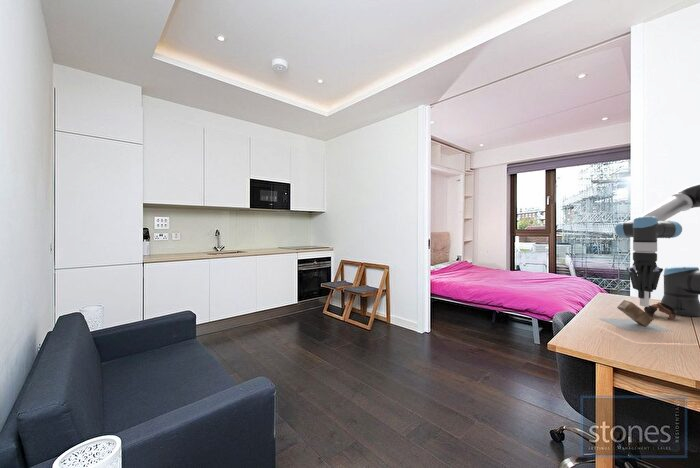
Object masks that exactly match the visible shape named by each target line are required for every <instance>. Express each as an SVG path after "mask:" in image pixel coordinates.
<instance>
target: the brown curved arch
mask: <svg viewBox="0 0 700 468" xmlns="http://www.w3.org/2000/svg"><path fill="white" fill-rule="evenodd" d="M666 308H668V309H666ZM658 310H659V311H660V312H662V313H665V314H666V315H669V316H668V318H667V320H668V321H669V320H671V321H672V320H673V319H675V320H676V317H677V314H676V313H677V311H676V310H675V309H673V308H672V307H670V306H669V305H666V304H664V303H661V301H660V302H657V303H655V304H651V305H650V304H649V307H644V308H643V311H644V312H646V313H647V314H648V315H649V316H651V317H653V316H654V315H655V313H656V312H657V311H658ZM671 313H672V314H671Z"/></svg>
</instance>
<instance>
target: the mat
mask: <svg viewBox="0 0 700 468" xmlns="http://www.w3.org/2000/svg"><path fill="white" fill-rule="evenodd" d="M597 319H599V320H601V321H603V322H605V323H608V324H610V325H612V326H615V327H617V328H620V329H622V330H624V331H645V332H646V331H647V332H649V331H650V332H651V331H654V332H673V330H671V329H669V328H667V327H663V326H661V325H657V324H655V323H653V322H651V323H650V324H649V325H648V326H647V327H646V326H643V325H640V324H638V323H636V322H635V321H634V320H632V319H631V318H602V317H601V318H597Z"/></svg>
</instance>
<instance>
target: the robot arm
mask: <svg viewBox="0 0 700 468" xmlns="http://www.w3.org/2000/svg"><path fill="white" fill-rule="evenodd" d="M693 208H700V183H699V182H698V183H695V184H693V185H690V186H687V187H685V188H682V189H680V190H678V191H676V192H674V193H672V194H671V195H669V196H668V197H667V199H666V200H665V201H663V202H661V203H659V204H657V205H655V206H654V207H652V208H650V209H649V210H647V211H645V212H644V213H642V214H640V215H637V216H635V217H634V218H633V219H630V220H629V221H619V222H618V223H617V224H616V225H615V227H614V230H615V234H616V235H617V236H618V237H621V238H632V251H633V252H632V260H633V263H632V266H630V267H626V271H627V272H628V274H629V278H630V281H631V285H632V289H634V290H636V291H637V292H638V293H637V297H638V299H639V306H642V307H644V308H645V307H649V305H650V300H651V297H652V295H651V294H652V293H653V292H654V291H656V290H657V288H658V284H659V282H660V276H661V274H662V273H663V295H662V299H661V300H660V303H664V304H666V305H669V306H670V307H672V308H673V309H675V310H676V311H677V313H676V316H677V315H678V316H686V317H700V300H699V296H700V268H699V267H698V266H668V267H665V268H664V269H663V267H659V266H658V265H657V261H658V253H657V252H658V239H671V238H672V239H673V238H677V237H679V236H680V235H681V234H682V232H683V226H682V225H681V224H680V223H679V222H677V221H673V220H668V219H670V218H672V217H673V216H675V215H677V214H678V213H680V212H686V211H689V210H690V209H693ZM666 309H668V308H666ZM671 314H672V313H671Z"/></svg>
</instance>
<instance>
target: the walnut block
mask: <svg viewBox="0 0 700 468" xmlns="http://www.w3.org/2000/svg"><path fill="white" fill-rule="evenodd" d="M616 309H618V310H619V311H620V312H622V313H623V314H625V315H626V316H627V317H628V318H629V319H632V320H634V321H635V322H636V323H638V324H640V325H643V326H646V327H647V326H648V325H649V324H650V323H653V321H654V317H653V316H649V315H648V314H647V313H646V312H645V311H644V309H641V308H640V307H639V306H638V305H637V304H635V303H633V302H631V301H629V300H625V299H623V300H622V301H621V303H619V305H618V306H617V307H616Z"/></svg>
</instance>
